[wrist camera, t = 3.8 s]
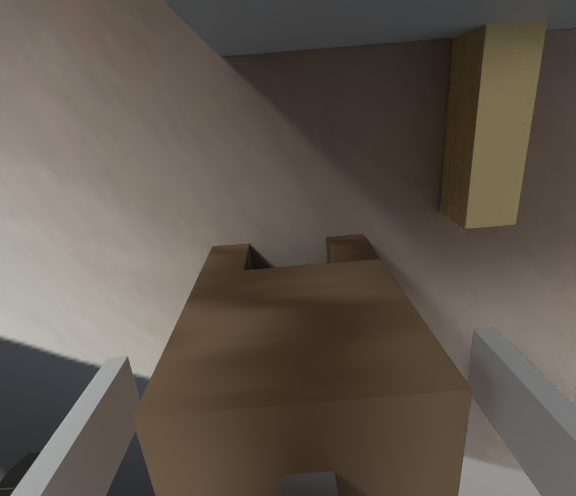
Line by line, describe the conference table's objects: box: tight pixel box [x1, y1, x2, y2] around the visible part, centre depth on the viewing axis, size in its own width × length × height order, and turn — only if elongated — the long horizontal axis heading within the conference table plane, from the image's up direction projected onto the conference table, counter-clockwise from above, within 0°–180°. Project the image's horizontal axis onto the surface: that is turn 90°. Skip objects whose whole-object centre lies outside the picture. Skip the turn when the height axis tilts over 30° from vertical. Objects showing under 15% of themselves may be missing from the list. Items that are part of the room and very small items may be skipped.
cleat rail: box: [439, 19, 548, 229], centre depth 14 cm, size 2×7×2 cm, turn 4°
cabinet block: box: [132, 234, 472, 496], centre depth 13 cm, size 7×7×12 cm
